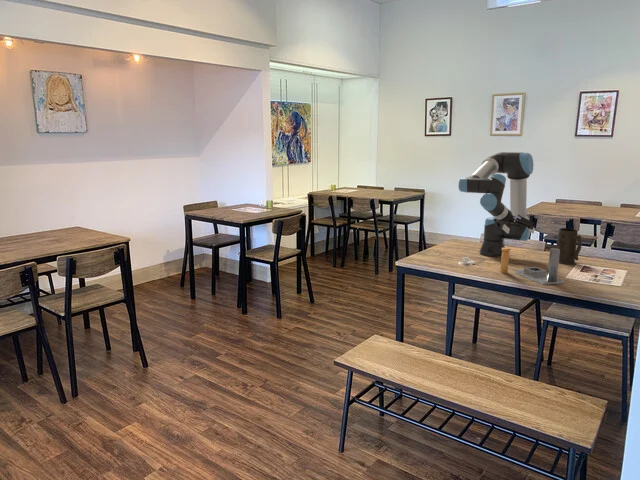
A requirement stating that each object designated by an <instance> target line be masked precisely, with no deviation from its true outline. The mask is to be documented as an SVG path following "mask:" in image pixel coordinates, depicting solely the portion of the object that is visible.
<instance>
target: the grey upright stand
mask: <svg viewBox="0 0 640 480" xmlns="http://www.w3.org/2000/svg"><path fill="white" fill-rule="evenodd" d="M559 255H560V249H557V248H556V247H554V248H553V247H551V248H549V255H548V256H549V257H548V264H547V270H545V269H543V268H540V267H538V266H531V267H524V268H523V269H520V270H518V269H517V270H514V274H517V275H519V276H521V277H523V278H525V279H528V280H531V281H533V282H535V283H537V284H539V285H542V286H546V285H548V286H549V285H560V284H564V283H565V280H563V279H560V278H558V272H559V265H560V263H559Z"/></svg>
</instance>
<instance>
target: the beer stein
mask: <svg viewBox="0 0 640 480" xmlns="http://www.w3.org/2000/svg"><path fill="white" fill-rule="evenodd" d="M582 246H583V245H582V235H580V234H579V233H578V230H577V229H575V228H574V229H573V228H565V227H562V228H559V229H558V235H557V239H556V247H555V248H557V249H560V255H559V264H562V265H573V264H575V263H576V261H579V254H580V252H581V250H582Z"/></svg>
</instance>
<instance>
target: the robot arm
mask: <svg viewBox="0 0 640 480" xmlns="http://www.w3.org/2000/svg"><path fill="white" fill-rule="evenodd" d="M533 171H534V158H533V155H532V154H531V153H530V152H523V151H522V152H510V151H508V152H504V151H503V152H497V153H494V154H491V155H489V156H488V157H486V158H485V159H484V160H483V161H482V162H481V165H480V166H479V167H478V168H477V169H476V170H474V172H473V173H471V174H470V175H469V176H468V177H467V176H464V177H461V178H459V181H458V191H460V192H462V193H470V194H471V193H472V194H483V195H482V196H481V197H480V200H479V204H480V206H481V207H482V208H483V209H484V210H485V211H486V212H488V214H490V215H491V217H486V218H485V221H484V225H483V226H484V227H483V229H484V230H483V242H482V244H481V246H480V249H479V254H481V255H482V256H484V257H485V256H487V257H494V258H495V257H497V258H498V257H500V258H502V250H501V249H502V248H506V247H505V242H504V241H505V240H512V241H519V242H520V241H522V242H525V241H526V242H527V241H528V240H529V238H530V237H531V236H530V235H531V234H534V233H535V227H534V224H535V222H534V221H532V220H531V219H530V218H529V216H527V194H528V193H527V185H528V184H527V183H528V181H527V180H528V179H529V178H530V175H532V174H533V173H534V172H533ZM503 174H506V176H505V175H503ZM506 177H507V178H506ZM507 179H508V180H510V182H509V191H510V192H509V193H510V194H509V195H510V197H509V198H510V199H509V200H510V202H509V204H510V206H509V208H510V209H509V208H508V207H507V206H506V205H505V204H504V203H503V202H502V199H503V194H504V191H505V187H506V181H507Z"/></svg>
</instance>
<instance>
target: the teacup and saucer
mask: <svg viewBox="0 0 640 480" xmlns="http://www.w3.org/2000/svg"><path fill="white" fill-rule="evenodd" d="M457 264H458V265H460V266H463V265H466V266H472V265H474V264H475V261H474V260H469V257H468V256H463V257H461V260H460V261H458V262H457Z"/></svg>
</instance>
